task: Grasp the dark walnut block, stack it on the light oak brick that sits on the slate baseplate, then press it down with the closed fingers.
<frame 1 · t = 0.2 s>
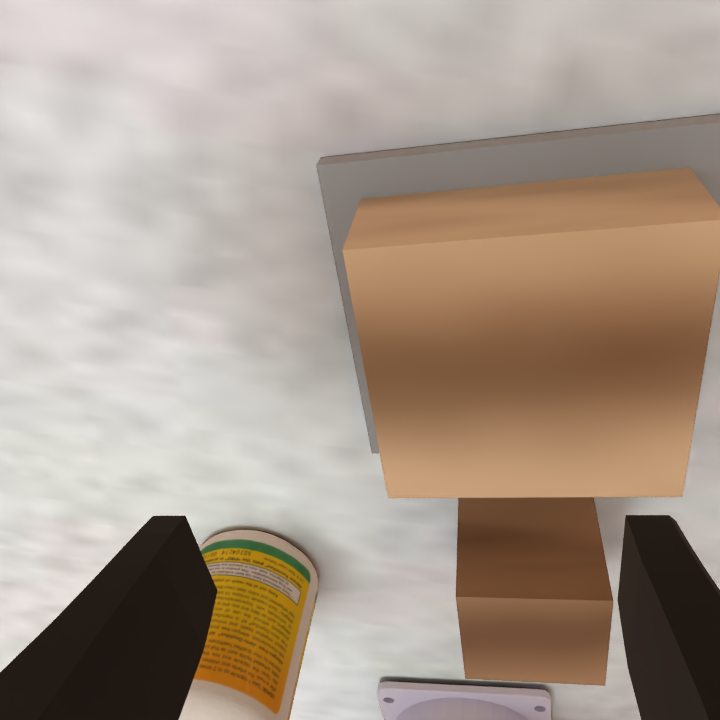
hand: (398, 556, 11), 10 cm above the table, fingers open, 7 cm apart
walnut block: (523, 517, 25), on the table
baseplate: (519, 308, 19), on the table
oak brick: (520, 319, 19), point 1 cm above the table, touching baseplate
supplement bottle: (259, 563, 29), on the table
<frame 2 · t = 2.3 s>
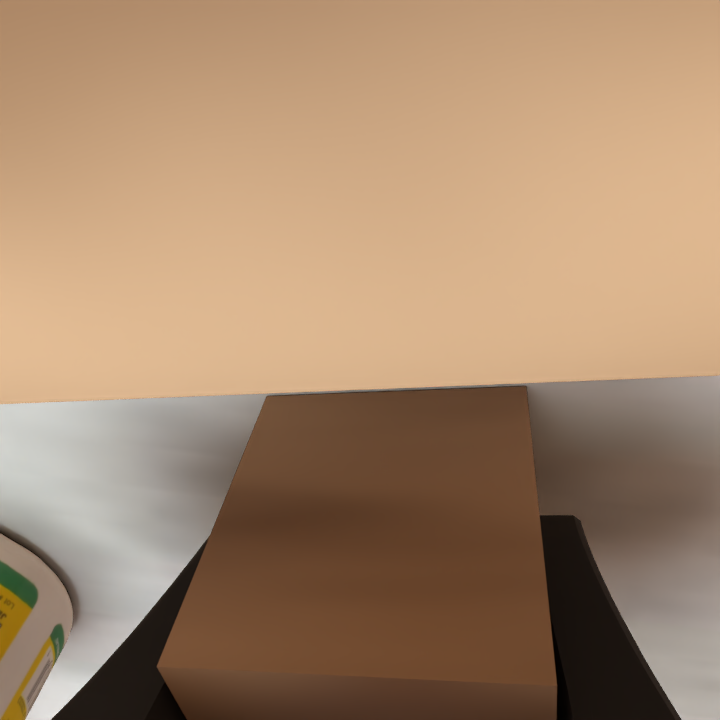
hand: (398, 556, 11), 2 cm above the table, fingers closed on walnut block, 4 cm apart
walnut block: (406, 485, 12), on the table, touching gripper
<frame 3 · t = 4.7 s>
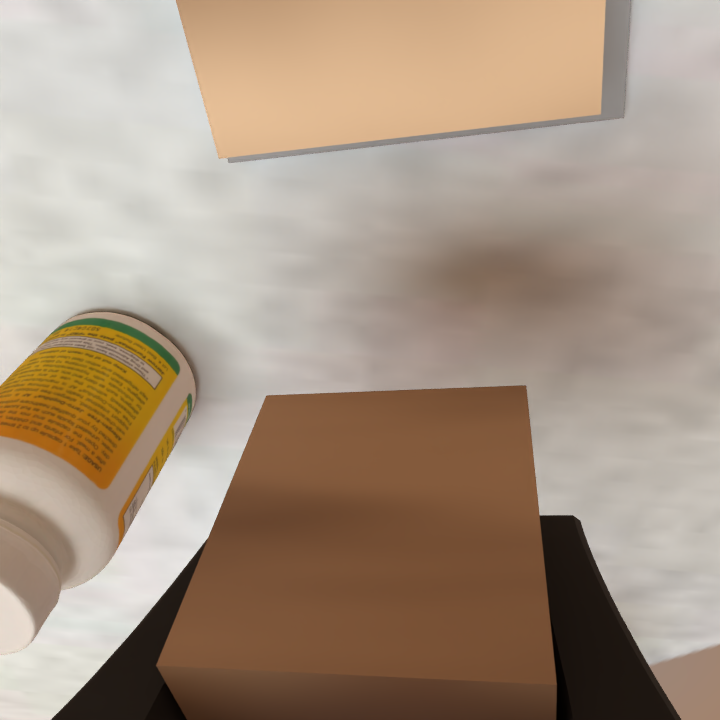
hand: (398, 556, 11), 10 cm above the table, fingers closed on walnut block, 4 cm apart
walnut block: (406, 484, 12), point 9 cm above the table, touching gripper
supplement bottle: (127, 368, 24), on the table
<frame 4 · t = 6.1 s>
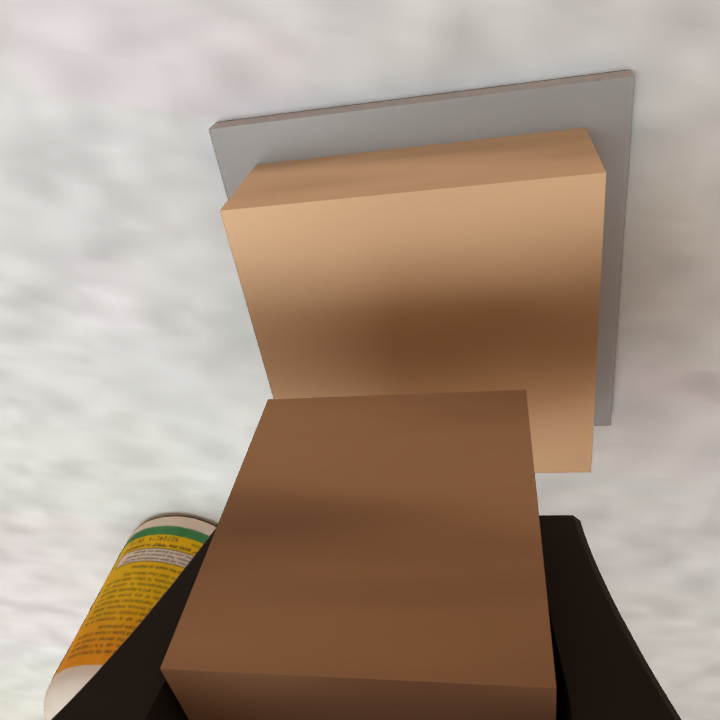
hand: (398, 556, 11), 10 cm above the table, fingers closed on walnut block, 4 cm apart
walnut block: (407, 487, 13), point 8 cm above the table, touching gripper
baseplate: (429, 281, 19), on the table
oak brick: (428, 291, 18), point 1 cm above the table, touching baseplate
supplement bottle: (194, 551, 28), on the table
when the fingers open (6 cm above the table, at t = 7.2 s): walnut block stays where it is, resting on oak brick.
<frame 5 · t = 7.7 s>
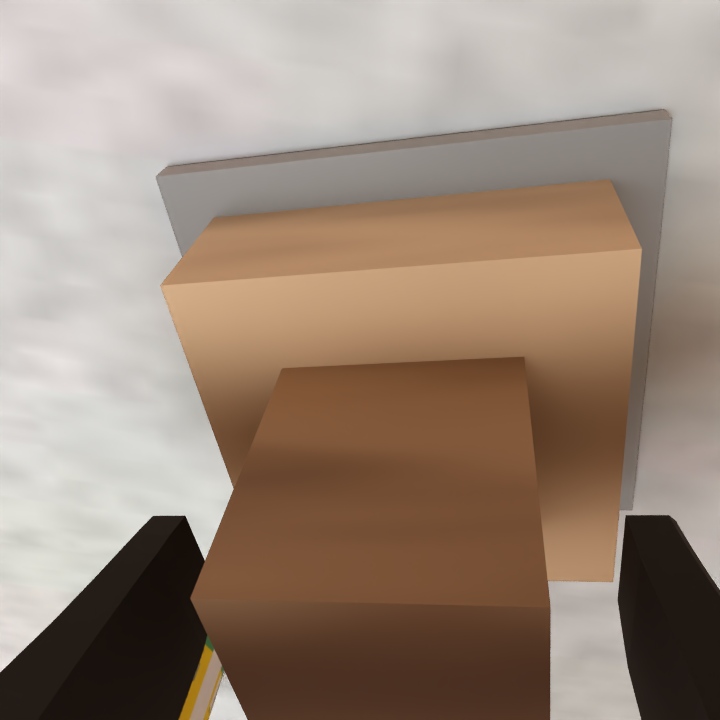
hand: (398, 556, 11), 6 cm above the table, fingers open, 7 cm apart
walnut block: (412, 453, 13), point 4 cm above the table, touching oak brick
baseplate: (422, 347, 16), on the table
oak brick: (420, 362, 16), point 1 cm above the table, touching baseplate, walnut block
supplement bottle: (163, 623, 25), on the table
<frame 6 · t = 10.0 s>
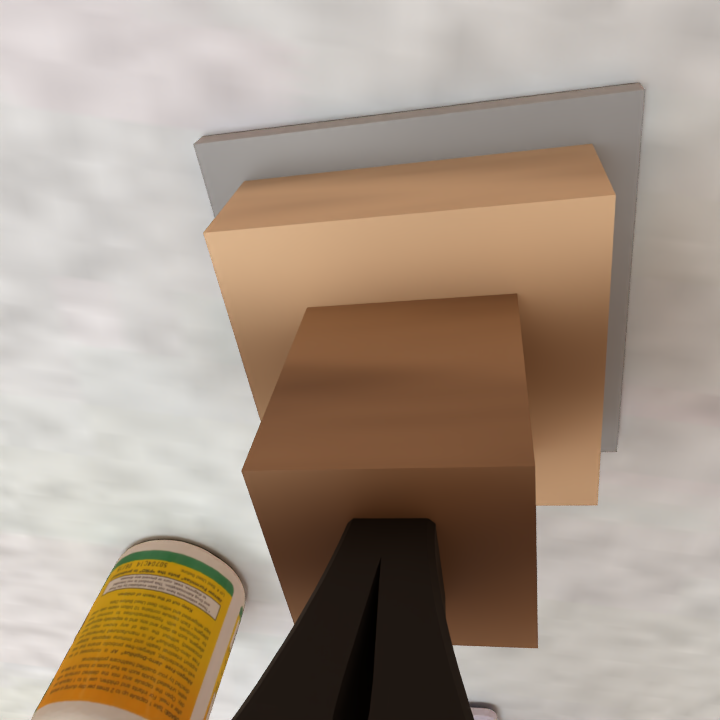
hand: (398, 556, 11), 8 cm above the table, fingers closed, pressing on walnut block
walnut block: (419, 384, 15), point 4 cm above the table, touching gripper, oak brick
baseplate: (427, 301, 18), on the table
oak brick: (426, 313, 18), point 1 cm above the table, touching baseplate, walnut block
supplement bottle: (184, 574, 27), on the table
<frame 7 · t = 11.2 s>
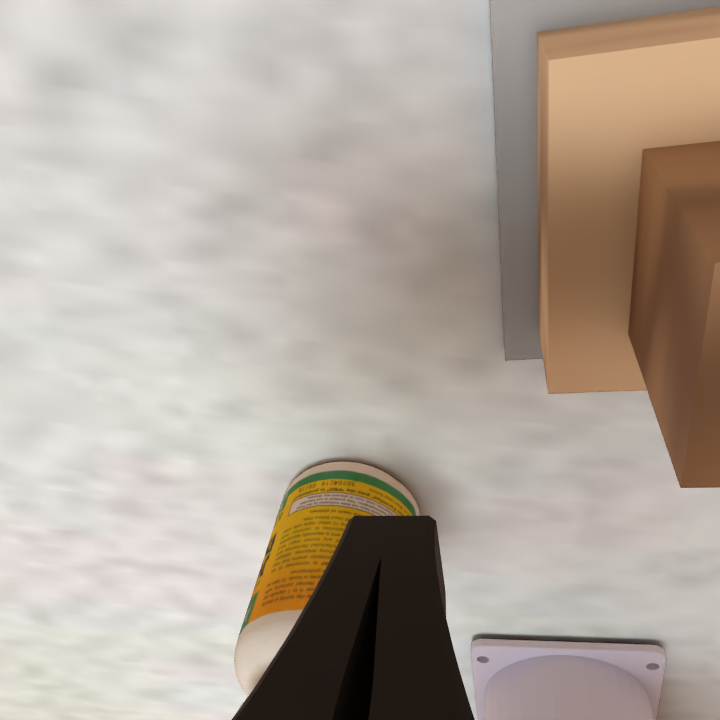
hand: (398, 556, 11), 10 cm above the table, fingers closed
baseplate: (698, 176, 17), on the table
oak brick: (705, 184, 17), point 1 cm above the table, touching baseplate, walnut block
supplement bottle: (353, 502, 26), on the table
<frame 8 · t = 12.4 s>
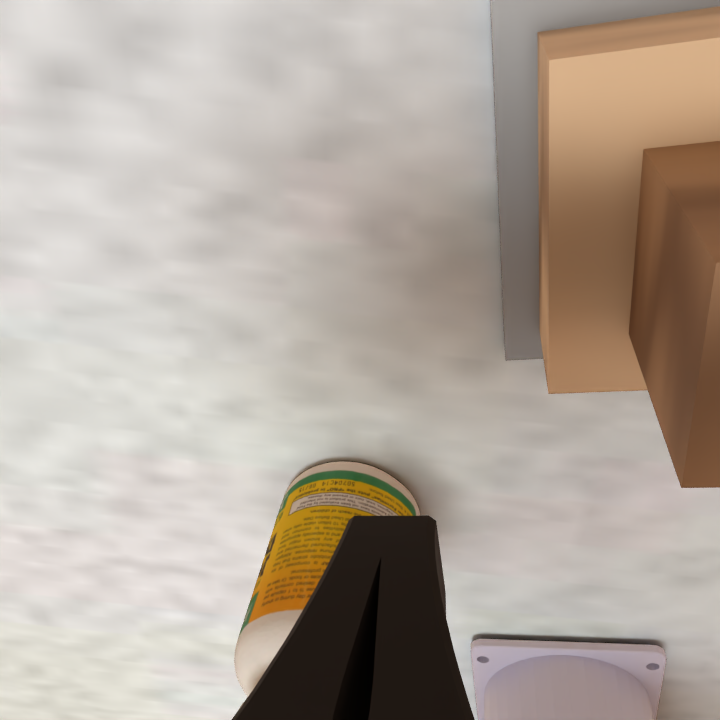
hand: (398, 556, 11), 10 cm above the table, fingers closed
baseplate: (699, 176, 17), on the table
oak brick: (705, 184, 17), point 1 cm above the table, touching baseplate, walnut block
supplement bottle: (353, 502, 26), on the table
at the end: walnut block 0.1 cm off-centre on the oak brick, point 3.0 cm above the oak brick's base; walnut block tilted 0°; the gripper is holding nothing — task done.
